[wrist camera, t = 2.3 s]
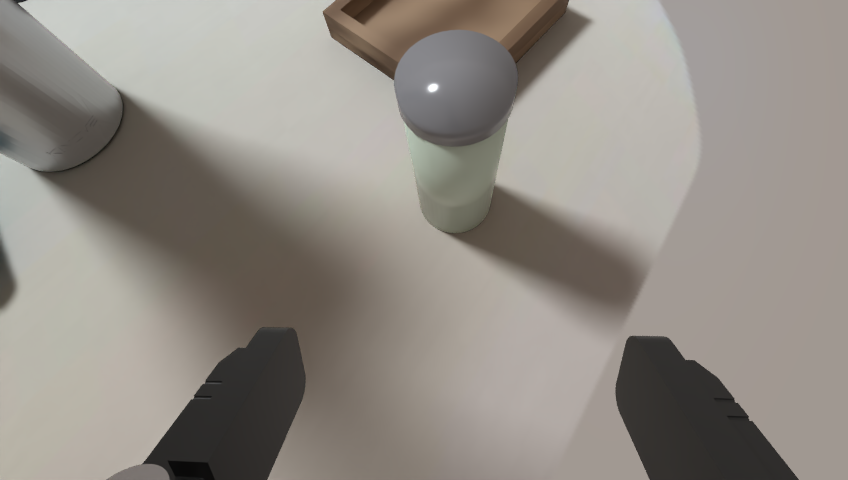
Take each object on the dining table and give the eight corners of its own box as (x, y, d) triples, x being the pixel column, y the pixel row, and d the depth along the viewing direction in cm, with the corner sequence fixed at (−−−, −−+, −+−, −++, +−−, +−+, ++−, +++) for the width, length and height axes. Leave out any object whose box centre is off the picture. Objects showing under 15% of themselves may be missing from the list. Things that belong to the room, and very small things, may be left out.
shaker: (403, 204, 28) (369, 86, 17) (450, 155, 29) (448, 11, 18) (459, 249, 27) (463, 153, 15) (506, 195, 28) (543, 68, 17)
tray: (331, 37, 34) (322, 11, 32) (438, -57, 37) (437, -86, 35) (457, 123, 30) (457, 101, 28) (565, 12, 33) (573, -16, 31)
